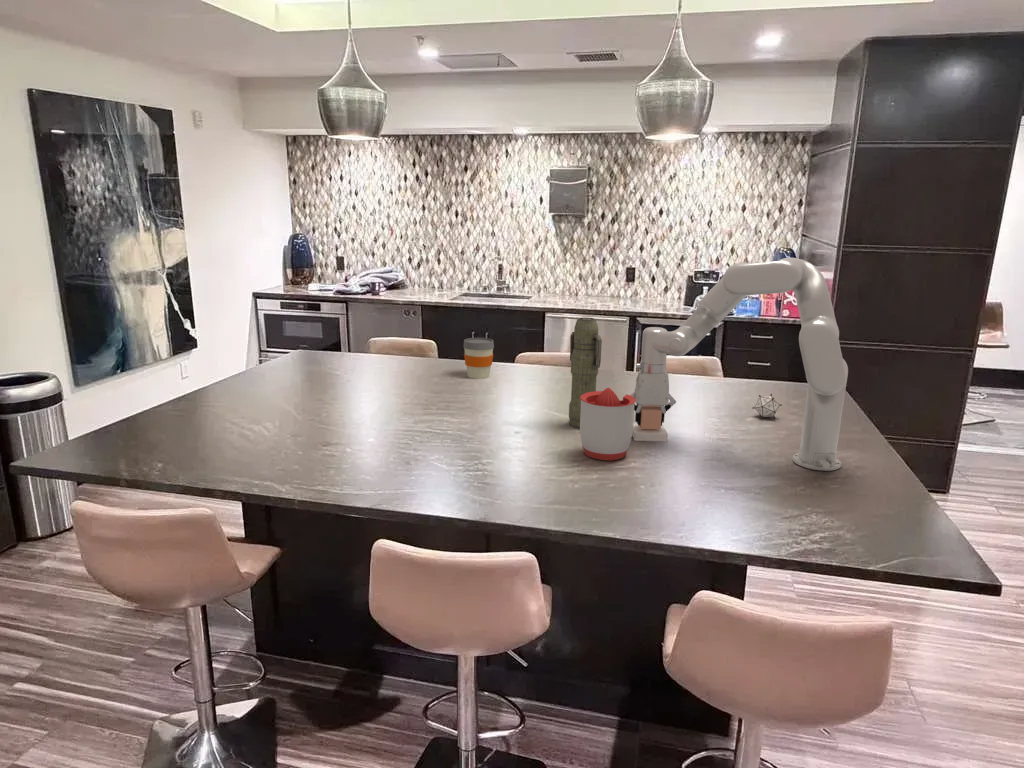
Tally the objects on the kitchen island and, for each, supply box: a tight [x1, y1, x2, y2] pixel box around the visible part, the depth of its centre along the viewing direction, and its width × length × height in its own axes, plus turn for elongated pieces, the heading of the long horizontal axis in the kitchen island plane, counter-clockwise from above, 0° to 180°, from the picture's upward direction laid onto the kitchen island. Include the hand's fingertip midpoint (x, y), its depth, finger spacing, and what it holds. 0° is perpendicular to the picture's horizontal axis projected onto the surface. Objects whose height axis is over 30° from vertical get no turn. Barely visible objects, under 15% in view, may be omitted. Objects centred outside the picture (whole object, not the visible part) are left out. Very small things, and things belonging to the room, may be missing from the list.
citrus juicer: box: [579, 387, 636, 462], centre depth 203 cm, size 16×17×20 cm
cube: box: [639, 405, 662, 429], centre depth 220 cm, size 6×6×6 cm
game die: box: [751, 393, 783, 420], centre depth 242 cm, size 9×8×10 cm
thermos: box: [568, 317, 603, 430], centre depth 228 cm, size 9×12×35 cm
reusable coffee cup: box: [462, 337, 495, 380], centre depth 292 cm, size 12×13×15 cm
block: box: [632, 422, 669, 443], centre depth 222 cm, size 10×10×2 cm
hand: (649, 423), depth 221 cm, fingers closed on cube, 6 cm apart
